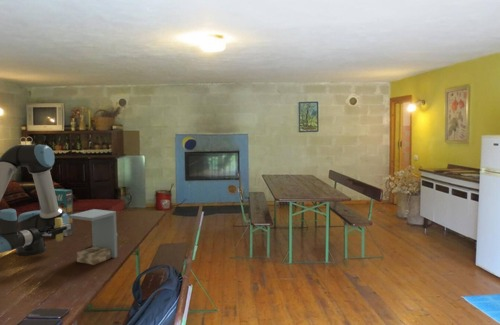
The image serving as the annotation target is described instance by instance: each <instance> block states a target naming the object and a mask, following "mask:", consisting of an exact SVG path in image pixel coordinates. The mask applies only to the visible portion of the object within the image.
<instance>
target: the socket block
mask: <svg viewBox="0 0 500 325" xmlns="http://www.w3.org/2000/svg"><path fill="white" fill-rule="evenodd" d="M111 258H112V257H111V253H110V249H107V248H101V247H95V246H94V247H93V246H91V247H88V248H86V249H83V250H80V251H77V252H76V262H77V263H82V264H87V265H93V266H94V265H97V264H99V263H102V262H105V261H107V260H109V259H111Z"/></svg>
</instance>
